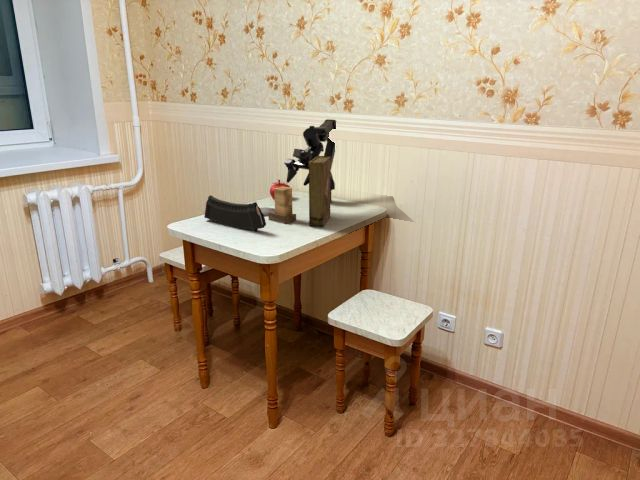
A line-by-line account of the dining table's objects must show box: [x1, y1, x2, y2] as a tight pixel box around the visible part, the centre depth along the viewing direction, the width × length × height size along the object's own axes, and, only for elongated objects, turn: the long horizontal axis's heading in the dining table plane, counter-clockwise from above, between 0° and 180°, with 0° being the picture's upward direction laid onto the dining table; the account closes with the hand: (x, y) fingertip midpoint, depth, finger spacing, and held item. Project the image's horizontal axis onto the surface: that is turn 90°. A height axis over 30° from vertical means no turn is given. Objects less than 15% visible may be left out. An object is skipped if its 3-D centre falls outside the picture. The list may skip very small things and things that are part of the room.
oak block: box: [274, 186, 294, 216], centre depth 192 cm, size 5×5×13 cm
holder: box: [268, 212, 297, 225], centre depth 193 cm, size 7×9×3 cm
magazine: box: [204, 195, 267, 233], centre depth 185 cm, size 17×3×30 cm
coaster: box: [259, 207, 275, 217], centre depth 204 cm, size 11×11×1 cm
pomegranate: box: [269, 179, 291, 201], centre depth 227 cm, size 10×10×9 cm
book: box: [308, 155, 332, 228], centre depth 187 cm, size 16×6×25 cm, turn 168°
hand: (295, 183), depth 196 cm, fingers open, 9 cm apart
